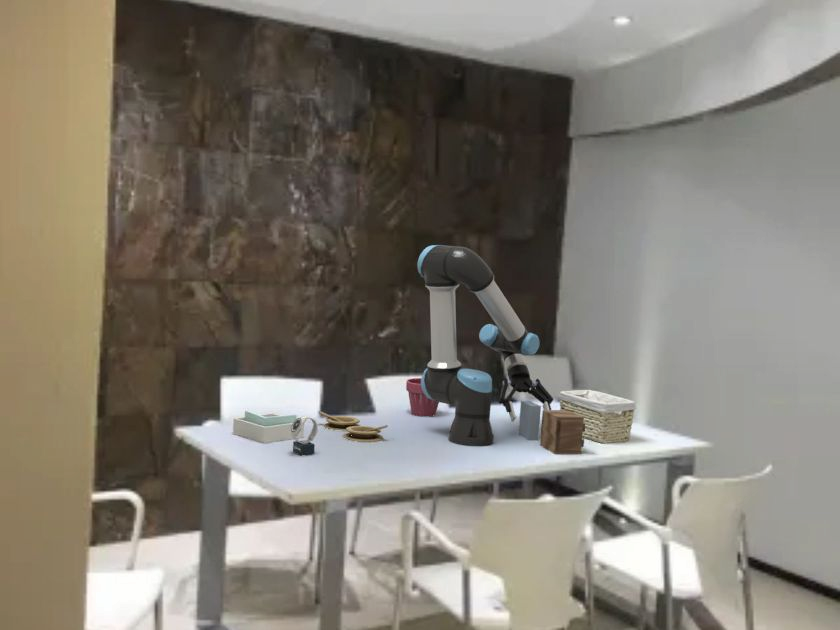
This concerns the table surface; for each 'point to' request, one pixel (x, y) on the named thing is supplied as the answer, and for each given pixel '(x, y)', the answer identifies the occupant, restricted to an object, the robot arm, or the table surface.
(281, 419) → the mint green square box
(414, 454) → the table surface
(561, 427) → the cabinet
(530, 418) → the grey rectangular block
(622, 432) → the storage basket
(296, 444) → the watch
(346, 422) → the tableware set
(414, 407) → the plant pot
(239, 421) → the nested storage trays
